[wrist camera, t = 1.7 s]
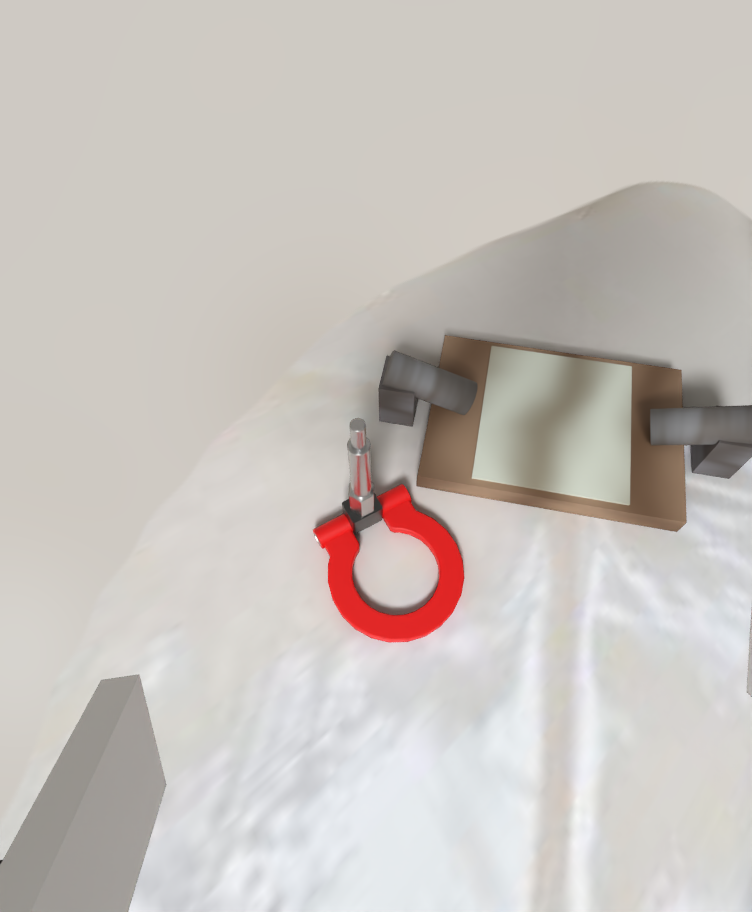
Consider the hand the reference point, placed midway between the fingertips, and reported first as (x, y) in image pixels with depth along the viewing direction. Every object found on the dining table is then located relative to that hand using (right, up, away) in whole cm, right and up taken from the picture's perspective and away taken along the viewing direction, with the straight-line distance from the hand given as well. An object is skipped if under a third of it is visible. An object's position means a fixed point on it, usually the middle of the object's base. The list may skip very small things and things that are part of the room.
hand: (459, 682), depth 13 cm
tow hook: (-1, -2, +27) cm, 27 cm away
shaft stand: (+11, +7, +31) cm, 33 cm away
